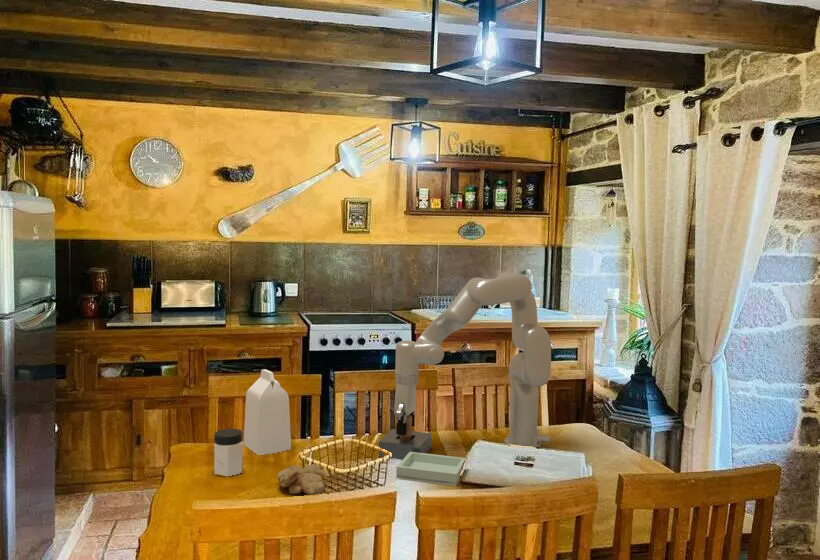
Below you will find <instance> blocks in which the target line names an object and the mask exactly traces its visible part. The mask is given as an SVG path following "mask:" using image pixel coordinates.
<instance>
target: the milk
mask: <svg viewBox="0 0 820 560" xmlns="http://www.w3.org/2000/svg"><path fill="white" fill-rule="evenodd" d="M274 376H275V375H274V372H272V371H270V370H268V369H266V368H265V369H261V371H260V377H258V378H257V380H256V381H255V382H254V383H253V384H252V385H251V386H250V387H249V388H248V389H247V391H246V393H245V408H244V409H245V410H244V411H245V413H244V425H243V426H244V431H243V446H244V445H245V446H246V447H248V448H249V449H250V450H252V451H253V452H254V453H256V454H257V455H265V454H270V453H271V454H270V455H273V454H272V453H275V454H278V453H277V452H280V453H283V452H282V451H285V452H287V451H286V450H289V449H291V450H292V440H291V438H292V436H291V418H290V417H291V414H290V413H291V412H290V396H289V393H288V392H287V391H286V390H285V389H284V388H283V387H282V386H281V383H280V382H279V381H278V380H276V379H275V377H274ZM289 451H290V450H289ZM254 453H253V454H254ZM265 456H266V455H265Z"/></svg>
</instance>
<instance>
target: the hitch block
mask: <svg viewBox="0 0 820 560" xmlns="http://www.w3.org/2000/svg"><path fill="white" fill-rule="evenodd" d="M432 435H433V434H432V432H424V431H422V432H421V431H414V430H412V441H410V440H401V439H400V435H397V434H396V429H395V428H391V429H390V430H389V431H388V432H387V433H386V434H385V435H384V436H383V437H382V438H381V439H380V440H378V448H379V447H380V448H382V449H385V450H387V451H389V452H391V453H392V457H391V458H390V459H394V458H396V459H397V460H403V459H404V458H405V457H406V455H407V454H408V453H409V452H417V453H425V454H429V453H428V452H429V451H430V450H431V448H432ZM378 454H379V455H380V457H379V458H383V457H382V456H384V453H382V452H380V451H379V450H378ZM396 459H395V460H396Z"/></svg>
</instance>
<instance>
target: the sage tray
mask: <svg viewBox="0 0 820 560" xmlns="http://www.w3.org/2000/svg"><path fill="white" fill-rule="evenodd" d="M465 459H466V460H467V457H461V456H460V457H459V456H450V455H442V454H433V453H427V454H425V453H417V452H409V453H408V454H407V455H406V457H405V458H404V459H401V461H400V462H399V464H397V466H396V470H395V471H396V477H395V478H396V479H397V478H399V479H398V480H405V481H414V482H421V483H428V484H429V483H430V484H436V485H437V484H438V485H445V486H446V485H447V486H453V487H454V486H455V487H457V486H458V484H459V482H460V480H461V479H460V472H461V469H462V466H463V463H464V461H465ZM459 479H460V480H459Z"/></svg>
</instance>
